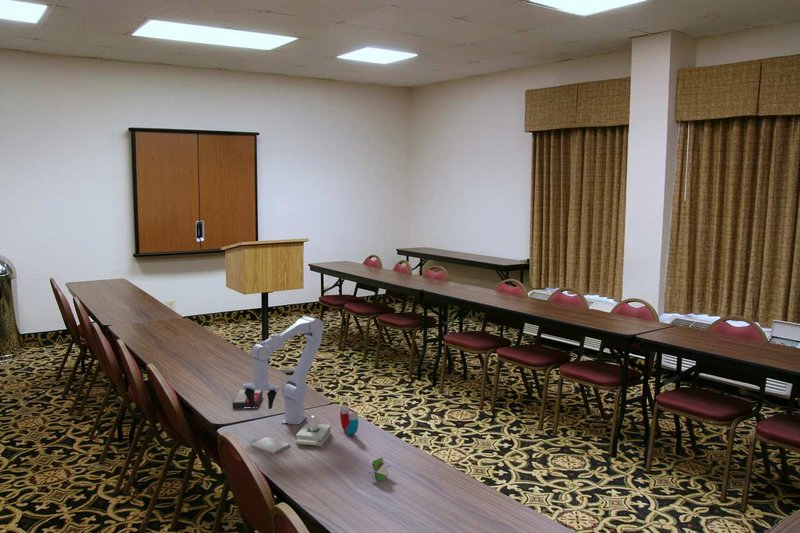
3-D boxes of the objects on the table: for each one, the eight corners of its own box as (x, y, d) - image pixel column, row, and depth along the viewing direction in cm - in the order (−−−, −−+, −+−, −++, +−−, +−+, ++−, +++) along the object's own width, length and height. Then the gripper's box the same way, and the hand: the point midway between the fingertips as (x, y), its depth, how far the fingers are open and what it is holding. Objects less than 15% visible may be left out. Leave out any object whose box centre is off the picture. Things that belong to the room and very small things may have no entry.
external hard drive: (274, 455, 228) (250, 447, 235) (290, 447, 235) (266, 440, 241) (274, 451, 228) (250, 443, 235) (290, 443, 234) (266, 436, 241)
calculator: (232, 401, 273) (238, 388, 287) (232, 411, 273) (238, 397, 288) (257, 401, 273) (262, 388, 288) (258, 410, 274) (262, 397, 289)
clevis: (306, 431, 248) (306, 423, 248) (330, 433, 247) (330, 425, 246) (294, 446, 235) (294, 436, 234) (319, 448, 233) (319, 439, 233)
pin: (311, 437, 243) (311, 414, 242) (318, 437, 243) (318, 415, 242) (308, 440, 240) (308, 417, 239) (316, 440, 240) (316, 418, 239)
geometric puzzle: (361, 470, 211) (371, 456, 207) (376, 464, 216) (386, 450, 211) (373, 488, 207) (383, 474, 203) (388, 481, 212) (398, 468, 208)
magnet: (358, 437, 243) (358, 413, 242) (352, 439, 242) (352, 414, 240) (346, 427, 253) (346, 403, 252) (340, 428, 252) (339, 405, 251)
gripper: (239, 376, 244) (240, 409, 246) (274, 378, 242) (274, 412, 243) (246, 371, 251) (247, 403, 253) (280, 373, 248) (281, 406, 250)
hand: (261, 407), depth 248 cm, fingers open, 7 cm apart
